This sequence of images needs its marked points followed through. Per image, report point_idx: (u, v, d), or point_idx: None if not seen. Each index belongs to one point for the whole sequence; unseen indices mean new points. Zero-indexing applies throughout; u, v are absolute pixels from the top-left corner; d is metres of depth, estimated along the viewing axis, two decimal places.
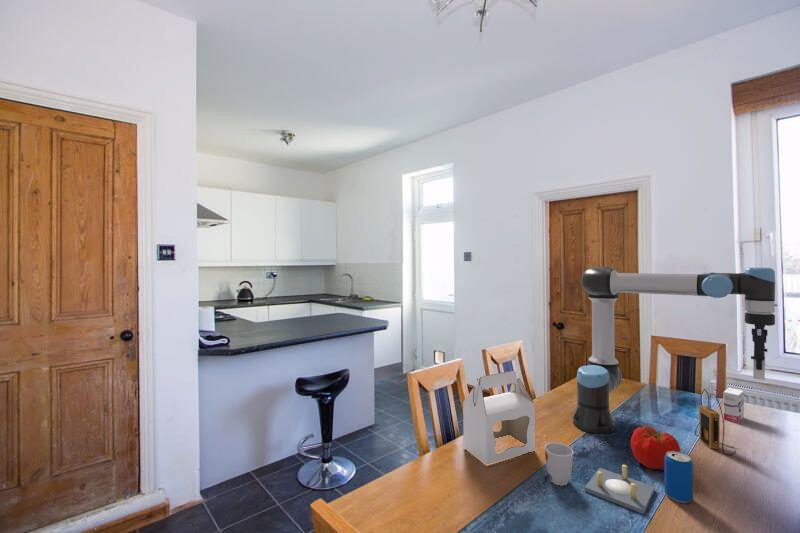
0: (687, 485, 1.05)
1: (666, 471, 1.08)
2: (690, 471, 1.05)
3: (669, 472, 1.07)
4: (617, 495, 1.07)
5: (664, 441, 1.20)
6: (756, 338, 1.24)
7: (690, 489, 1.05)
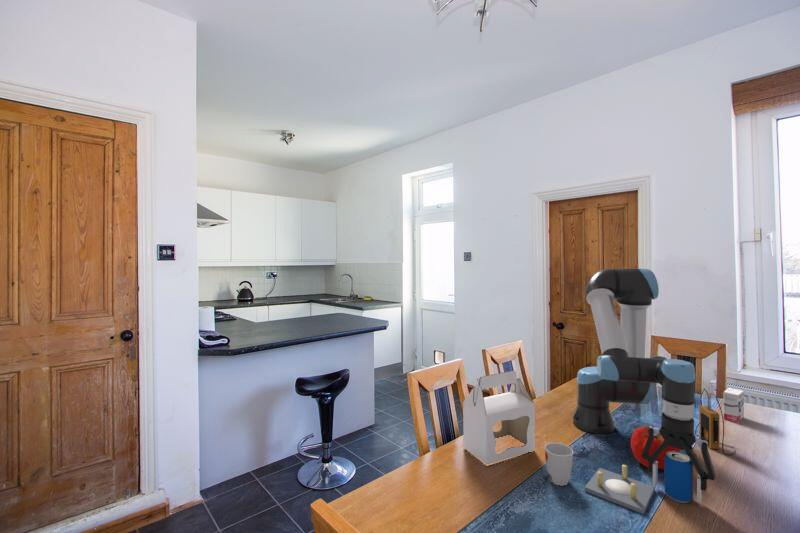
0: (687, 485, 1.05)
1: (666, 471, 1.08)
2: (690, 471, 1.05)
3: (669, 472, 1.07)
4: (617, 495, 1.07)
5: None
6: None
7: (690, 489, 1.05)
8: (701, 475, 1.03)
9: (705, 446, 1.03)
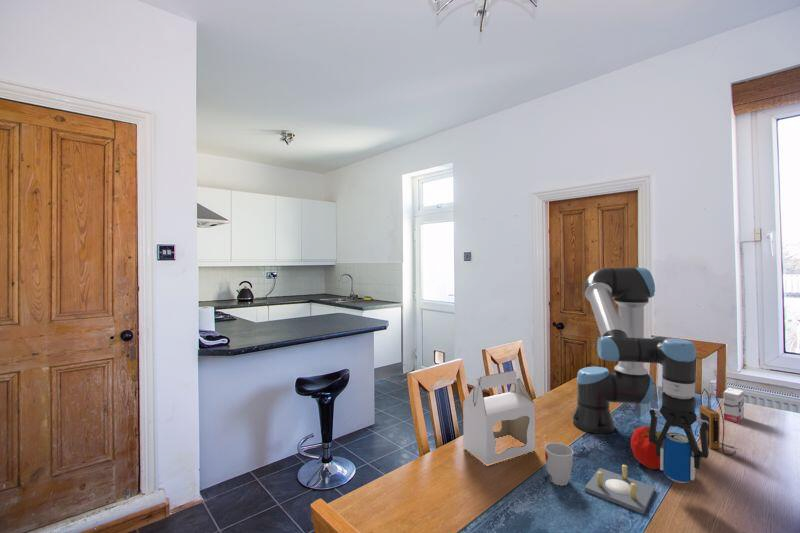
0: (686, 466, 1.05)
1: (665, 452, 1.08)
2: (689, 452, 1.05)
3: (669, 452, 1.07)
4: (617, 495, 1.07)
5: None
6: None
7: (689, 469, 1.05)
8: (695, 453, 1.04)
9: (705, 426, 1.03)
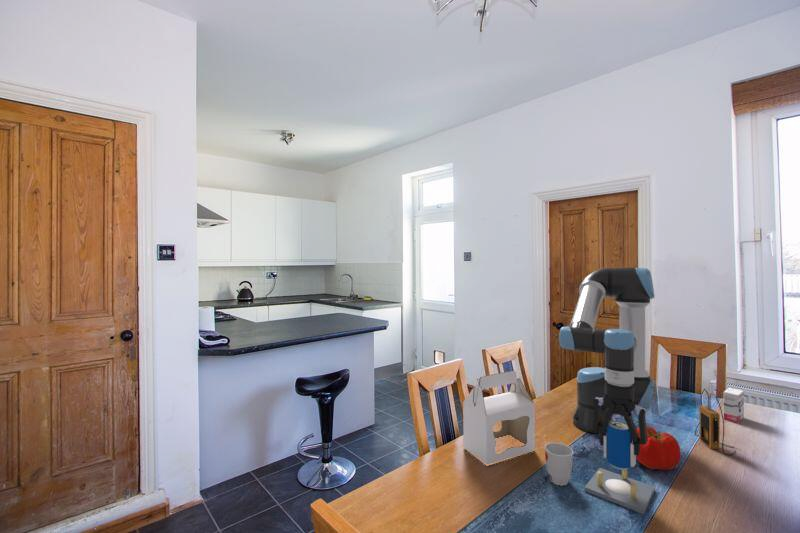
0: (626, 452, 1.08)
1: (608, 440, 1.11)
2: (629, 438, 1.08)
3: (610, 440, 1.10)
4: (617, 495, 1.07)
5: (664, 441, 1.20)
6: None
7: (629, 456, 1.08)
8: (634, 440, 1.07)
9: (643, 413, 1.06)
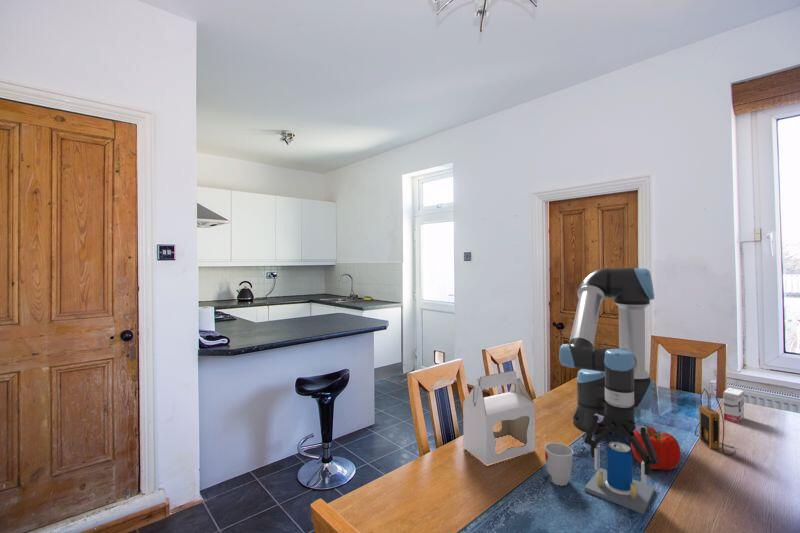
0: (626, 475, 1.08)
1: (608, 461, 1.11)
2: (629, 461, 1.08)
3: (610, 462, 1.10)
4: (617, 495, 1.07)
5: (664, 441, 1.20)
6: None
7: (629, 478, 1.08)
8: (644, 460, 1.06)
9: (644, 431, 1.06)
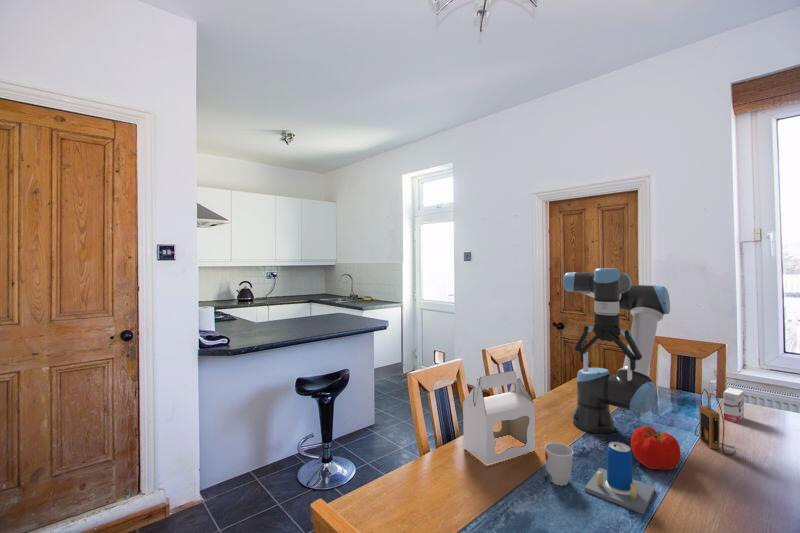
0: (626, 475, 1.08)
1: (608, 461, 1.11)
2: (629, 461, 1.08)
3: (610, 462, 1.10)
4: (617, 495, 1.07)
5: (664, 441, 1.20)
6: None
7: (629, 478, 1.08)
8: (630, 357, 1.22)
9: (627, 333, 1.23)
